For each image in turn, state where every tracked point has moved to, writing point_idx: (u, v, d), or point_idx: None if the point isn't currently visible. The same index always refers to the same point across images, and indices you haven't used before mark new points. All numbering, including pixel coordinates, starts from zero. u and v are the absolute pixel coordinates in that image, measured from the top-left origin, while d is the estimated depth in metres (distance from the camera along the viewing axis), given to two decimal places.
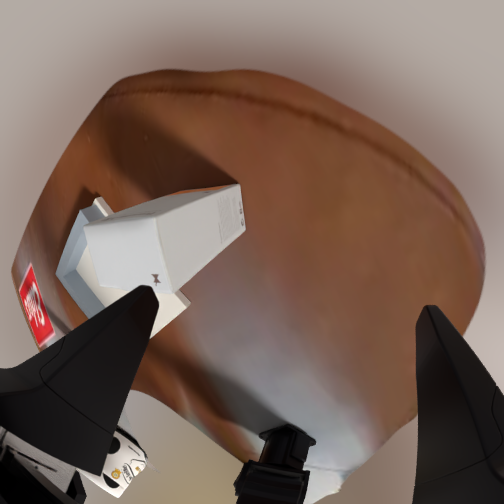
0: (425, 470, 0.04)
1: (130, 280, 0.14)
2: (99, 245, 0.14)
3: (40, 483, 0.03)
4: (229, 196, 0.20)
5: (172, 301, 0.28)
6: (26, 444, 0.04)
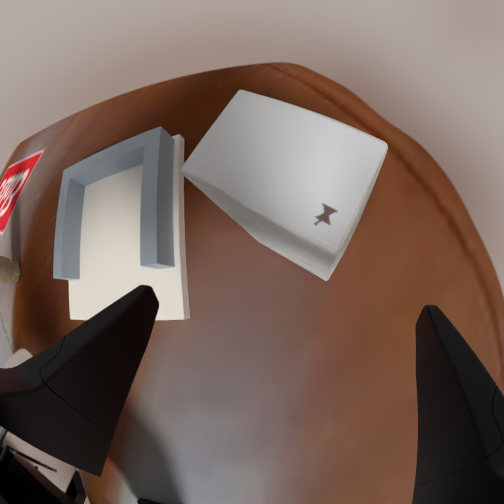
0: (425, 470, 0.04)
1: (264, 190, 0.08)
2: (250, 120, 0.09)
3: (40, 483, 0.03)
4: None
5: (171, 300, 0.20)
6: (26, 444, 0.04)
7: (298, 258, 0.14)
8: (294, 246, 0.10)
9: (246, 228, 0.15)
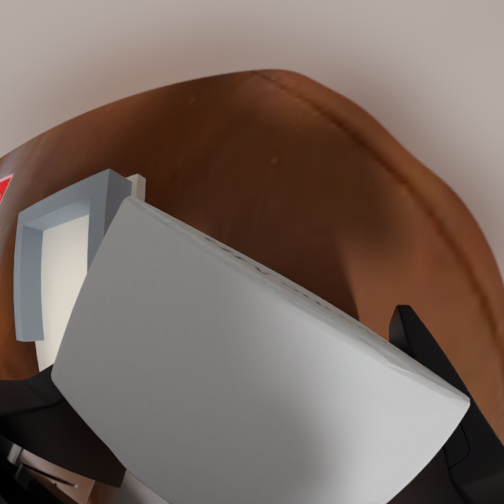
0: None
1: (178, 483, 0.03)
2: (137, 314, 0.03)
3: (40, 483, 0.03)
4: None
5: None
6: (44, 461, 0.04)
7: None
8: None
9: None
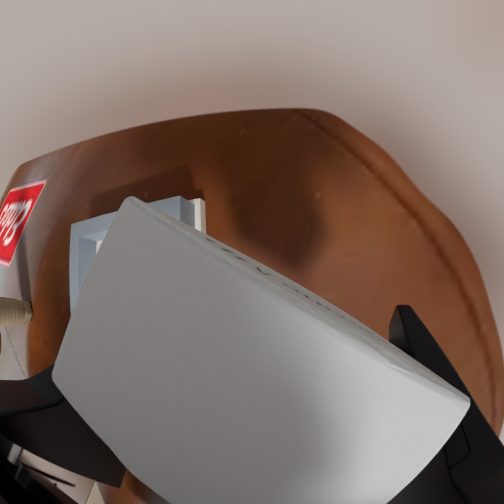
0: None
1: (179, 484, 0.03)
2: (138, 314, 0.03)
3: (40, 483, 0.03)
4: None
5: None
6: (44, 461, 0.04)
7: None
8: None
9: None
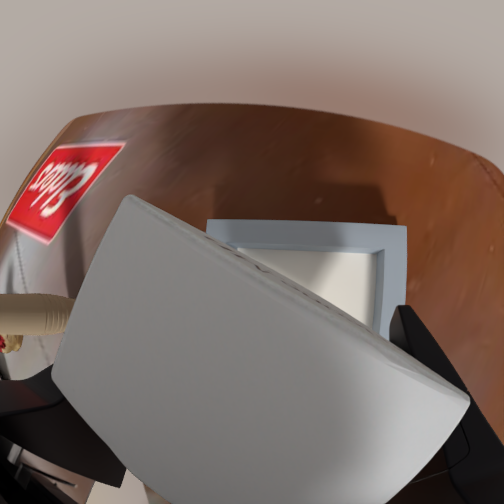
0: None
1: (177, 482, 0.03)
2: (137, 312, 0.03)
3: (40, 483, 0.03)
4: None
5: None
6: (44, 461, 0.04)
7: None
8: None
9: None
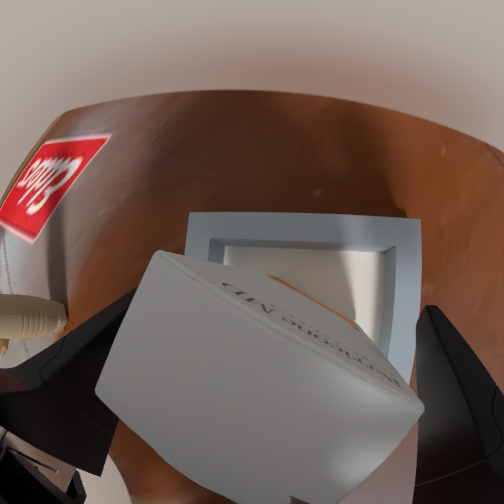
0: (425, 470, 0.04)
1: (207, 468, 0.04)
2: (175, 346, 0.05)
3: (40, 483, 0.03)
4: None
5: None
6: (26, 444, 0.04)
7: None
8: None
9: None
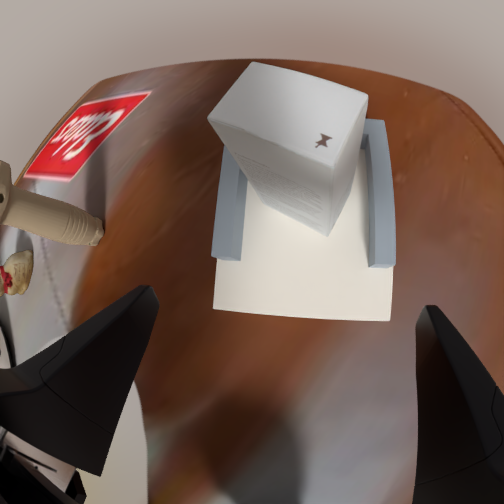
0: (425, 470, 0.04)
1: (275, 126, 0.10)
2: (262, 81, 0.10)
3: (40, 483, 0.03)
4: (350, 187, 0.18)
5: (379, 301, 0.19)
6: (26, 444, 0.04)
7: (302, 206, 0.16)
8: (299, 180, 0.12)
9: (255, 182, 0.17)
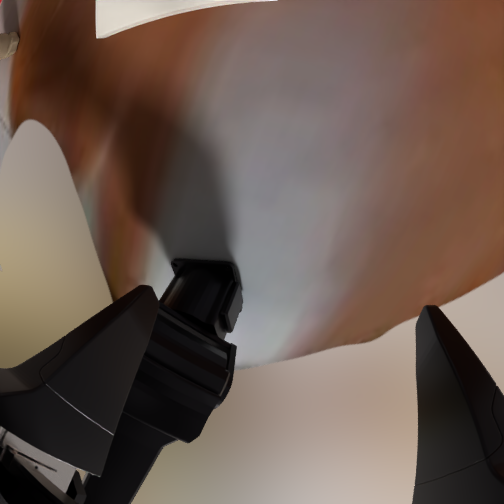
0: (425, 470, 0.04)
1: None
2: None
3: (40, 483, 0.03)
4: None
5: None
6: (26, 444, 0.04)
7: None
8: None
9: None
